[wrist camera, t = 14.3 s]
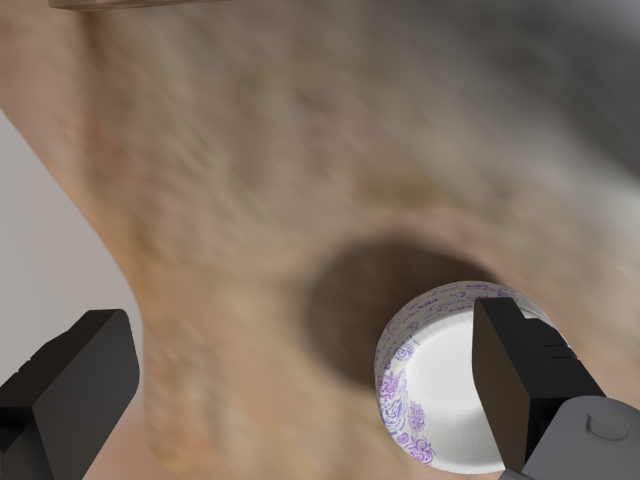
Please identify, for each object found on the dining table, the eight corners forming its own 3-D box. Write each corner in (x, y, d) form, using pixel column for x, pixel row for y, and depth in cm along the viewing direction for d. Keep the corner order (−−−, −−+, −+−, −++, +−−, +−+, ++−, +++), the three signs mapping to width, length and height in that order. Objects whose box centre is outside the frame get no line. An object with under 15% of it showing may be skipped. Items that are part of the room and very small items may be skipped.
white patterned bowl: (570, 376, 46) (612, 438, 39) (415, 434, 50) (426, 502, 42) (508, 234, 42) (542, 274, 35) (343, 308, 45) (341, 359, 38)
